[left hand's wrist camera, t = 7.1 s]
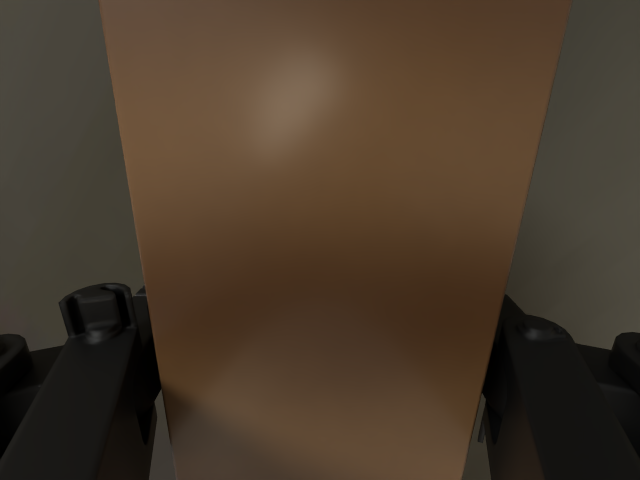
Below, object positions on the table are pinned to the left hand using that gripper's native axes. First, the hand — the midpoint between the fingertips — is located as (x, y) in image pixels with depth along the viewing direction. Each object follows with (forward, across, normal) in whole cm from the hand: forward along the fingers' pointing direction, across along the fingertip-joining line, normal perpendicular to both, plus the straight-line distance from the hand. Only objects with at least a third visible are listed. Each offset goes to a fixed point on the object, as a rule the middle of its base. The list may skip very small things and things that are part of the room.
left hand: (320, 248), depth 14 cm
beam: (0, -1, -34) cm, 34 cm away
